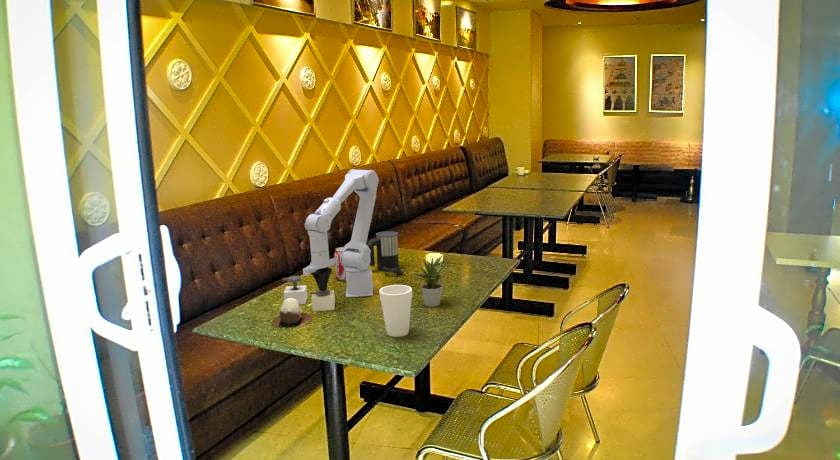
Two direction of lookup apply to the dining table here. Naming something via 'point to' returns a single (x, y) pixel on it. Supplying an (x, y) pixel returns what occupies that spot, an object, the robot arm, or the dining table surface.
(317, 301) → the off-white square plinth
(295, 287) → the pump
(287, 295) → the square base with knob
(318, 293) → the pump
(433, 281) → the house plant
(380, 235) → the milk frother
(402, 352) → the dining table surface
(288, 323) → the skull
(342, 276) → the soda can
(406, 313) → the foam cup
